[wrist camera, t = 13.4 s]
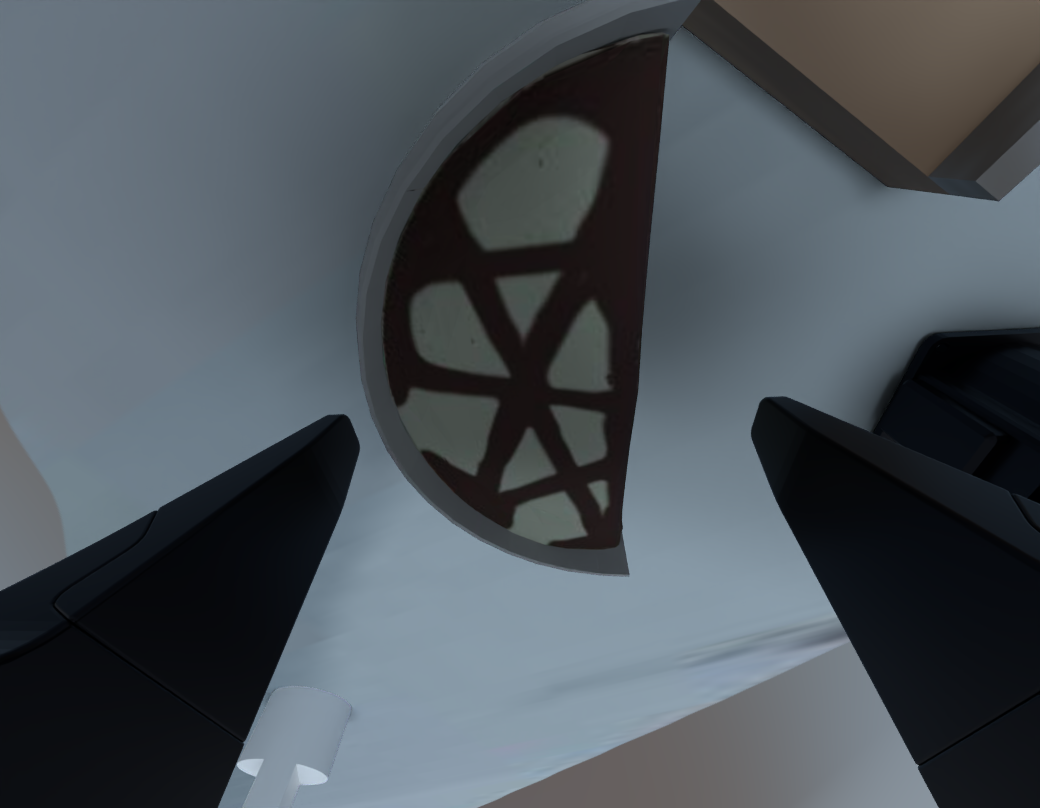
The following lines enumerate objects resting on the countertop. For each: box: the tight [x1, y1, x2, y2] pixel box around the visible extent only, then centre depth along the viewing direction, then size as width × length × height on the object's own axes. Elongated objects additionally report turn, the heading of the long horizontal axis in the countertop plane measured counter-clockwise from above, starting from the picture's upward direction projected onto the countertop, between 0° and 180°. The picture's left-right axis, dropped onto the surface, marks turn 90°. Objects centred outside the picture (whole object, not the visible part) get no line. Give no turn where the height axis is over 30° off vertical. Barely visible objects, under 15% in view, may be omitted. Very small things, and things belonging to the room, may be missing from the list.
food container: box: [356, 0, 701, 577], centre depth 12 cm, size 12×6×10 cm, turn 5°
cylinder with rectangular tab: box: [237, 686, 352, 808], centre depth 39 cm, size 9×9×12 cm
